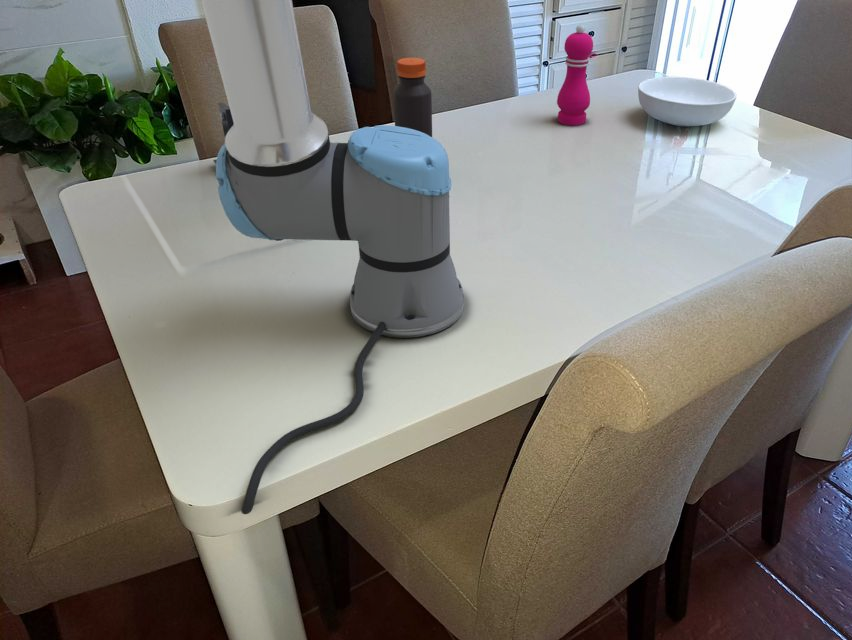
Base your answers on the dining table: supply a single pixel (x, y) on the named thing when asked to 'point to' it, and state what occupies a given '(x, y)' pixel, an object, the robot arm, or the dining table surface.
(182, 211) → the dining table surface
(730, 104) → the serving bowl
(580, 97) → the pepper mill
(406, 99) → the bottle
